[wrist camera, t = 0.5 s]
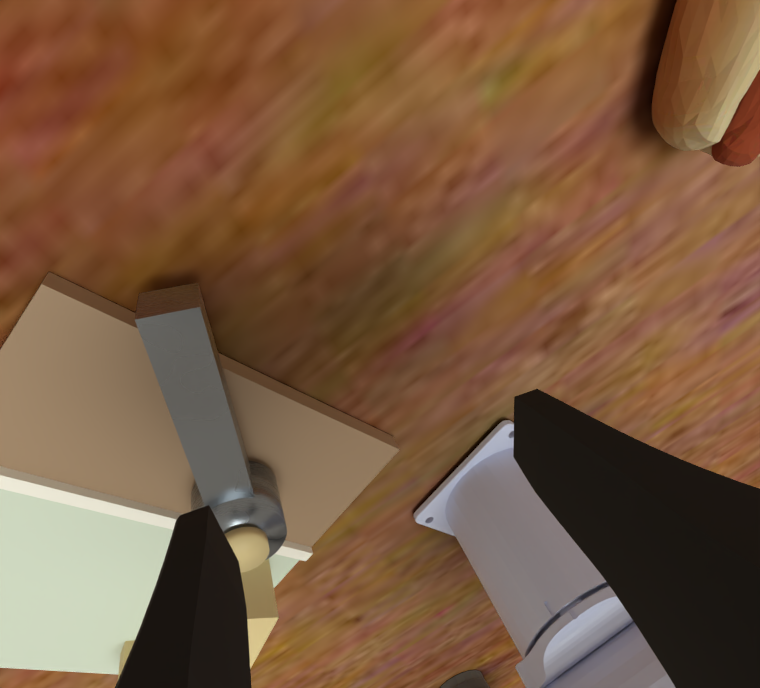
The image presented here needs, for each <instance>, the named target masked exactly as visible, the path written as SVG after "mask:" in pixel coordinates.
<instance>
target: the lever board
mask: <svg viewBox="0 0 760 688" xmlns="http://www.w3.org/2000/svg"><path fill="white" fill-rule="evenodd" d="M135 314H136V313H134V312H132V311H130V310H128V309H126V308H124V307H122V306H120V305H118V304H115V303H113V302H111V301H109V300H107V299H105V298H103V297H101V296H99V295H97V294H95V293H92V292H90V291H88V290H86V289H84V288H82V287H80V286H78V285H76V284H74V283H72V282H70V281H67V280H65V279H63V278H61V277H59V276H57V275H55V274H53V273H51V272H48V274H47V275H46V277H45V278H44V280H43V282H42V283H41V285H40V286H39V288H38V290H37V291H36V293H35V294H34V296H33V298H32V299H31V301H30V302H29V304H28V306H27V307H26V309H25V310H24V312H23V314H22V315H21V317H20V318H19V320H18V322H17V323H16V325H15V326H14V328H13V330H12V331H11V333H10V334H9V336H8V338H7V339H6V341H5V342H4V344H3V346H2V347H1V349H0V668H17V669H34V670H51V671H69V672H86V673H103V674H118V679H119V677H120V675H121V672H122V670H123V667H124V665H125V663H126V660H127V658H128V656H129V653H130V651H131V648H132V646H133V644H134V641H135V639H136V636H137V634H138V631H139V629H140V626H141V624H142V621H143V618H144V616H145V613H146V610H147V607H148V605H149V602H150V599H151V597H152V594H153V591H154V588H155V586H156V583H157V580H158V577H159V574H160V571H161V568H162V565H163V562H164V559H165V556H166V552H167V549H168V546H169V543H170V539H171V536H172V533H173V529H174V526H175V522H176V520H177V518H178V517H179V515H182V514H185V513H188V512H191V492H192V488H193V486H194V484H195V483H196V481H195V478H194V476H193V473H192V470H191V468H190V465H189V462H188V460H187V457H186V455H185V452H184V449H183V447H182V444H181V441H180V439H179V436H178V433H177V431H176V428H175V425H174V423H173V420H172V417H171V415H170V412H169V409H168V407H167V404H166V402H165V399H164V396H163V394H162V391H161V388H160V386H159V383H158V380H157V378H156V375H155V372H154V370H153V367H152V364H151V362H150V359H149V356H148V354H147V351H146V349H145V346H144V343H143V341H142V338H141V335H140V333H139V330H138V327H137V325H136V322H135ZM218 355H219V358H220V362H221V365H222V369H223V372H224V376H225V380H226V383H227V387H228V390H229V394H230V397H231V401H232V404H233V408H234V411H235V415H236V419H237V422H238V426H239V429H240V433H241V436H242V440H243V443H244V447H245V450H246V454H247V458H248V460H249V461H255V462H258V463H261V464H263V465H265V466H267V467H268V468H269V469H270V470H271V471H272V472H273V473H274V475H275V477H276V480H277V485H278V490H279V494H280V499H281V504H282V508H283V513H284V517H285V522H286V527H287V535H286V539H285V541H284V543H283V545H282V546H281V547H280V549H279V550H278V551H277V552H276V553H275V554H274V555H273V556H271V557H270V558H268V559H267V560H266V558H267V557H268V555H269V544H268V538H267V535H266V533H265V532H264V531H263V530H261V529H259V528H256V527H241V528H237V529H234V530H231V531H229V532H227V533H226V534H225V536H226V538H227V540H228V542H229V544H230V546H231V548H232V550H233V552H234V553H235V555H236V557H237V559H238V561H239V566H240V572H241V577H242V583H243V589H244V595H245V601H246V608H247V621H248V638H249V656H250V668H251V667H252V665H253V663H254V661H255V659H256V658H257V656H258V654H259V652H260V650H261V649H262V647H263V645H264V643H265V641H266V639H267V638H268V636H269V634H270V632H271V630H272V629H273V627H274V625H275V623H276V621H277V620H278V618H279V616H278V611H277V605H276V599H275V593H274V588H275V586H276V585H277V584H278V583H279V582H280V581H281V580H282V579H283V578H284V577H285V575H286V574H287V573H288V572H289V571H290V570H291V569H292V568H293V567H294V566H295V564H296V563H297V562H298V561H299V560H303V561H307V560H308V558H309V557H310V556H311V555H312V554H313V552H312V548H311V547H312V546H313V545H314V544H315V542H316V541H317V540H318V539H319V538H320V537H321V536H322V535H323V534H324V533H325V531H326V530H327V529H328V528H329V527H330V526H331V525H332V524H333V523H334V522H335V520H336V519H337V518H338V517H339V516H340V515H341V514H342V513H343V512H344V511H345V509H346V508H347V507H348V506H349V505H350V504H351V503H352V502H353V501H354V500H355V498H356V497H357V496H358V495H359V494H360V493H361V492H362V491H363V490H364V489H365V487H366V486H367V485H368V484H369V483H370V482H371V481H372V480H373V479H374V478H375V476H376V475H377V474H378V473H379V472H380V471H381V470H382V469H383V468H384V467H385V465H386V464H387V463H388V462H389V461H390V460H391V459H392V458H393V457H394V456H395V454H396V453H397V452H398V451H399V450H400V449H399V447H398V445H397V443H396V442H395V440H394V438H393V436H391V435H389V434H387V433H385V432H383V431H381V430H379V429H376V428H374V427H372V426H370V425H368V424H366V423H364V422H362V421H360V420H358V419H356V418H353V417H351V416H349V415H347V414H345V413H343V412H341V411H339V410H337V409H335V408H333V407H330V406H328V405H326V404H324V403H322V402H320V401H318V400H316V399H314V398H312V397H310V396H308V395H305V394H303V393H301V392H299V391H297V390H295V389H293V388H291V387H289V386H287V385H285V384H282V383H280V382H278V381H276V380H274V379H272V378H270V377H268V376H266V375H264V374H262V373H259V372H257V371H255V370H253V369H251V368H249V367H247V366H245V365H243V364H241V363H239V362H237V361H234V360H232V359H230V358H228V357H226V356H224V355H222V354H220V353H218Z"/></svg>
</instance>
